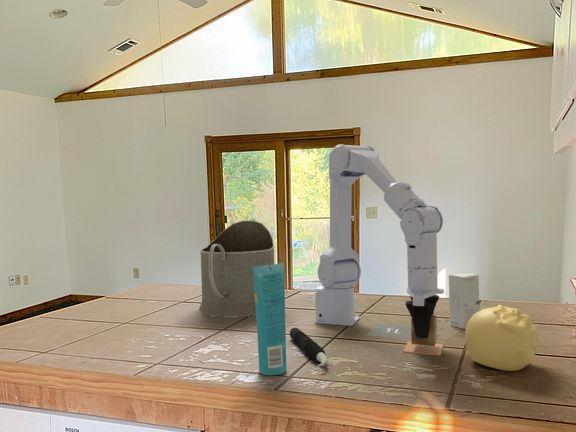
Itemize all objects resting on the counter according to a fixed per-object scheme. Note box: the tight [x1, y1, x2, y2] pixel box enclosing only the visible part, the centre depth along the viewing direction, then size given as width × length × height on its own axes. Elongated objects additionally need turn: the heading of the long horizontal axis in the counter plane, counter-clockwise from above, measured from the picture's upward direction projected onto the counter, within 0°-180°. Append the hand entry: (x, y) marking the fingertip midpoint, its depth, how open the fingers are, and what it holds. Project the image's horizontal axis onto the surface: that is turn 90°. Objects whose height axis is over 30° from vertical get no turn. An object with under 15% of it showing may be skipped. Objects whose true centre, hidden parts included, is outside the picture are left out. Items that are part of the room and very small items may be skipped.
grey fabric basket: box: [198, 220, 275, 318], centre depth 132 cm, size 23×32×25 cm
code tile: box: [366, 323, 412, 340], centre depth 107 cm, size 10×10×1 cm
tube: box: [253, 262, 287, 376], centre depth 84 cm, size 7×5×19 cm, turn 140°
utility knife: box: [289, 327, 328, 367], centre depth 93 cm, size 22×4×3 cm, turn 16°
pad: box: [402, 340, 444, 357], centre depth 94 cm, size 7×7×1 cm
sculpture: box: [464, 304, 539, 372], centre depth 84 cm, size 12×12×11 cm
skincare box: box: [448, 272, 480, 330], centre depth 111 cm, size 6×4×12 cm
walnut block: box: [410, 314, 438, 346], centre depth 94 cm, size 4×4×5 cm
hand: (423, 334), depth 94 cm, fingers closed on walnut block, 4 cm apart
